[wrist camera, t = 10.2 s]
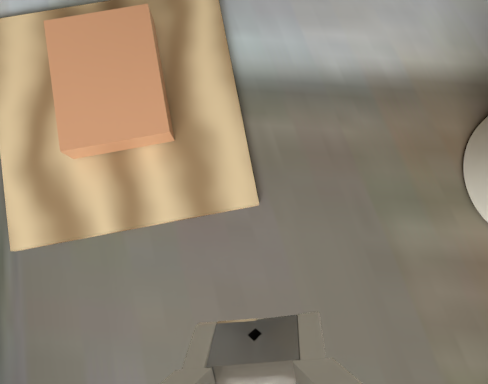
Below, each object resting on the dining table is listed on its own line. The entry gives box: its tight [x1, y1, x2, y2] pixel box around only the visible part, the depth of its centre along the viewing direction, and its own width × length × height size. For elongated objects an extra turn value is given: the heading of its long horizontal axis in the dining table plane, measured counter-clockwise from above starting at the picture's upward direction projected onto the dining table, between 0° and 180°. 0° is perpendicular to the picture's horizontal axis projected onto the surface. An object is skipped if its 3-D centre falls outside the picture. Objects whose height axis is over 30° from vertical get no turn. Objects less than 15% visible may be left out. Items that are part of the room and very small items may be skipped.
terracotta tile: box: [44, 4, 175, 159], centre depth 39 cm, size 10×3×13 cm
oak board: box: [0, 0, 259, 251], centre depth 41 cm, size 24×24×1 cm
